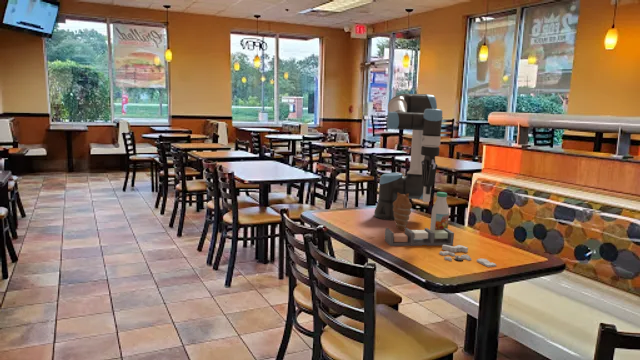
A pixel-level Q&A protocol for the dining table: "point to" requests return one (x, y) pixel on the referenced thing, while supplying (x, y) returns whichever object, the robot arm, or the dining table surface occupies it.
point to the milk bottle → (440, 213)
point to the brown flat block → (400, 237)
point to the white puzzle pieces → (463, 249)
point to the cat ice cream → (402, 210)
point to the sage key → (440, 234)
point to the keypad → (419, 242)
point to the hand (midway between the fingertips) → (426, 201)
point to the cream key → (420, 234)
